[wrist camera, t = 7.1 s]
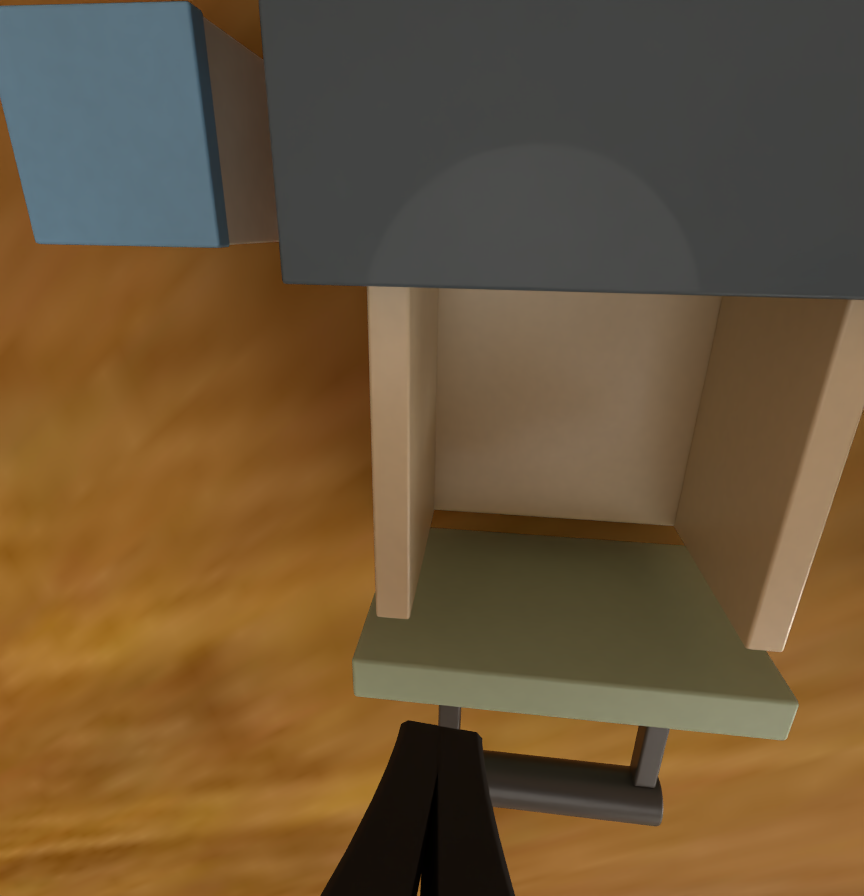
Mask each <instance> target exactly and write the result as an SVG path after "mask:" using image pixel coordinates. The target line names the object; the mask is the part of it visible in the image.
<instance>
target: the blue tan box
mask: <svg viewBox="0 0 864 896" xmlns="http://www.w3.org/2000/svg"><path fill="white" fill-rule="evenodd" d="M0 98H1V102H2V106H3V110H4V114H5V119H6V123H7V127H8V131H9V135H10V139H11V143H12V147H13V151H14V155H15V160H16V164H17V168H18V172H19V176H20V180H21V184H22V188H23V192H24V196H25V201H26V205H27V209H28V213H29V217H30V221H31V225H32V229H33V233H34V238H35V241H36V243H39V244H62V245H109V246H155V247H202V248H223V247H228V246H229V245H232V244H249V243H265V242H279V235H278V223H277V212H276V200H275V188H274V176H273V165H272V153H271V141H270V129H269V118H268V106H267V94H266V82H265V71H264V60H263V59H261V58H260V57H259V56H257V55H256V54H254V53H253V52H252V51H250V50H249V49H248V48H246V47H245V46H243V45H242V44H241V43H239V42H238V41H236V40H235V39H234V38H232V37H231V36H229V35H228V34H227V33H225V32H224V31H222V30H221V29H220V28H218V27H217V26H216V25H214V24H213V23H211V22H210V21H209V20H207V19H206V18H204V17H203V14H202V12H201V10H199V9H198V8H197V7H195V6H194V5H192V4H191V3H190V2H188V1H171V2H132V3H93V4H54V5H14V6H0Z"/></svg>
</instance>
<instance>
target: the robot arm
mask: <svg viewBox="0 0 864 896" xmlns="http://www.w3.org/2000/svg"><path fill="white" fill-rule="evenodd" d="M420 877H421V890H420V896H515V894H514V890H513V887H512V883H511V879H510V876H509V872H508V868H507V864H506V861H505V857H504V853H503V849H502V846H501V842H500V838H499V834H498V829H497V825H496V821H495V816H494V812H493V807H492V802H491V797H490V793H489V787H488V782H487V776H486V770H485V763H484V755H483V746H482V738H481V737H480V736H479V734H478V733H477V732H472V731H466V730H460V729H455V728H449V727H443V726H437V725H432V724H426V723H420V722H415V721H409V720H408V721H406V722H404V723H402V724H401V727H400V730H399V734H398V737H397V741H396V743H395V746H394V749H393V752H392V755H391V757H390V760H389V762H388V765H387V767H386V770H385V772H384V774H383V777H382V779H381V781H380V783H379V786H378V788H377V790H376V792H375V794H374V797H373V799H372V801H371V803H370V805H369V807H368V809H367V811H366V813H365V815H364V817H363V819H362V821H361V823H360V825H359V827H358V829H357V831H356V833H355V835H354V837H353V839H352V840H351V842H350V844H349V846H348V848H347V850H346V852H345V854H344V855H343V857H342V859H341V861H340V862H339V864H338V866H337V868H336V869H335V871H334V873H333V875H332V876H331V878H330V880H329V882H328V883H327V885H326V887H325V889H324V890H323V892H322V894H321V896H417V892H418V887H419V882H420Z"/></svg>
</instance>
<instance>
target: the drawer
mask: <svg viewBox="0 0 864 896" xmlns="http://www.w3.org/2000/svg"><path fill="white" fill-rule="evenodd" d="M367 309H368V344H369V379H370V413H371V448H372V483H373V518H374V553H375V587H376V591H375V594H374V597H373V600H372V603H371V606H370V609H369V612H368V615H367V618H366V621H365V624H364V627H363V630H362V633H361V636H360V639H359V642H358V645H357V648H356V651H355V653H354V656H353V659H352V666H353V686H354V694H355V696H359V697H368V698H378V699H388V700H397V701H407V702H417V703H426V704H436V705H439V723H438V726H443V727H449V728H455V729H460V722H461V707H465V708H475V709H484V710H494V711H504V712H513V713H523V714H533V715H542V716H552V717H562V718H571V719H581V720H591V721H600V722H610V723H620V724H629V725H639V728H638V732H637V737H636V741H635V746H634V750H633V755H632V760H631V764H630V766H623V765H613V764H604V763H595V762H586V761H577V760H568V759H559V758H550V757H541V756H532V755H523V754H514V753H505V752H496V751H487V750H483V755H484V763H485V770H486V776H487V782H488V787H489V793H490V797H491V802H492V807H500V808H509V809H517V810H525V811H533V812H542V813H550V814H558V815H567V816H575V817H583V818H591V819H600V820H608V821H616V822H624V823H633V824H641V825H649V826H659V825H660V824H661V821H662V817H663V796H662V790H661V785H660V781H659V778H658V774H659V770H660V766H661V762H662V758H663V754H664V749H665V745H666V741H667V737H668V733H669V729H678V730H687V731H697V732H706V733H716V734H726V735H735V736H745V737H755V738H764V739H774V740H786V739H787V736H788V734H789V731H790V728H791V725H792V723H793V720H794V717H795V714H796V712H797V709H798V701H797V699H796V697H795V696H794V694H793V693H792V691H791V690H790V688H789V686H788V685H787V683H786V682H785V680H784V679H783V677H782V675H781V674H780V672H779V671H778V669H777V668H776V666H775V664H774V663H773V661H772V660H771V658H770V657H769V655H768V653H767V652H766V651H774V652H782V651H783V650H784V647H785V644H786V641H787V637H788V634H789V631H790V628H791V625H792V622H793V619H794V616H795V613H796V610H797V607H798V604H799V601H800V598H801V595H802V592H803V589H804V586H805V583H806V580H807V577H808V574H809V571H810V568H811V565H812V562H813V559H814V556H815V553H816V550H817V547H818V544H819V541H820V538H821V535H822V532H823V529H824V526H825V523H826V520H827V517H828V514H829V511H830V508H831V505H832V502H833V499H834V496H835V493H836V490H837V487H838V484H839V481H840V478H841V475H842V472H843V469H844V466H845V463H846V460H847V457H848V454H849V451H850V448H851V445H852V441H853V438H854V435H855V432H856V429H857V426H858V423H859V420H860V417H861V414H862V411H863V408H864V300H846V299H810V298H774V297H738V296H702V295H666V294H630V293H594V292H558V291H522V290H486V289H450V288H414V287H378V286H367ZM434 510H447V511H462V512H476V513H491V514H506V515H520V516H535V517H550V518H564V519H579V520H594V521H608V522H623V523H638V524H652V525H667V526H674V527H675V529H676V531H677V533H678V534H679V536H680V538H681V539H682V541H683V543H684V545H685V546H682V545H668V544H654V543H640V542H626V541H612V540H598V539H584V538H570V537H556V536H542V535H528V534H514V533H500V532H486V531H472V530H458V529H444V528H430V526H431V522H432V517H433V513H434Z"/></svg>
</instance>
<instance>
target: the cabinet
mask: <svg viewBox="0 0 864 896" xmlns="http://www.w3.org/2000/svg"><path fill="white" fill-rule="evenodd" d="M259 12H260V24H261V35H262V47H263V59H264V71H265V82H266V94H267V106H268V118H269V129H270V141H271V153H272V165H273V176H274V188H275V200H276V212H277V223H278V235H279V247H280V259H281V270H282V280H283V283H286V284H306V285H342V286H378V287H414V288H450V289H486V290H522V291H558V292H594V293H630V294H666V295H702V296H738V297H774V298H810V299H846V300H864V0H259Z"/></svg>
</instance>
